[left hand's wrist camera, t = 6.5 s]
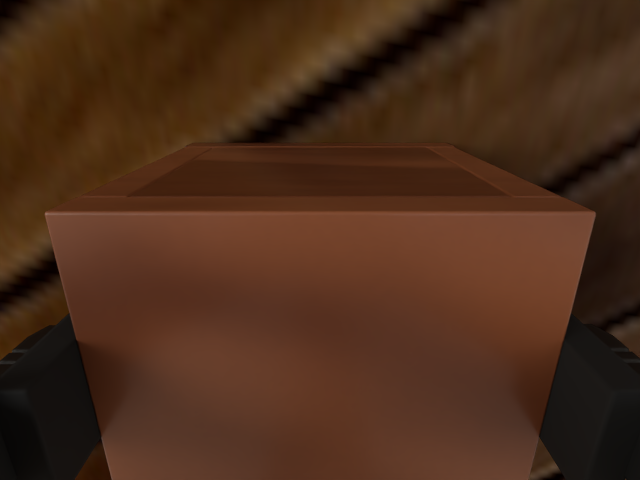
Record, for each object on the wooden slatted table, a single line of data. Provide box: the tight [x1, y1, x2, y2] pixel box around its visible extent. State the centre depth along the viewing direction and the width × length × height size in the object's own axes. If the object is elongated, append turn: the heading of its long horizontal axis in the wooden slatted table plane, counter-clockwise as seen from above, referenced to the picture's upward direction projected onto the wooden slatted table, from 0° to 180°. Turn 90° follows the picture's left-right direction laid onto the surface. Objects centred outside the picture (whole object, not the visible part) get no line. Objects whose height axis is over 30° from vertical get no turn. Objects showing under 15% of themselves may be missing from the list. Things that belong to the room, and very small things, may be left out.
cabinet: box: [45, 143, 596, 480], centre depth 15 cm, size 19×10×10 cm, turn 0°
